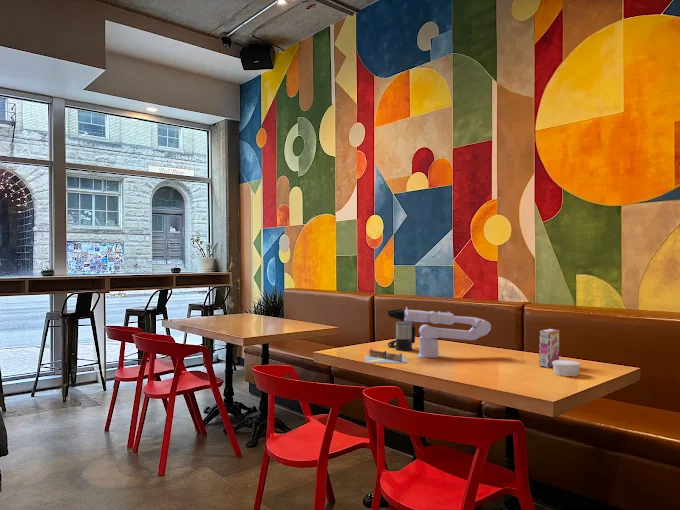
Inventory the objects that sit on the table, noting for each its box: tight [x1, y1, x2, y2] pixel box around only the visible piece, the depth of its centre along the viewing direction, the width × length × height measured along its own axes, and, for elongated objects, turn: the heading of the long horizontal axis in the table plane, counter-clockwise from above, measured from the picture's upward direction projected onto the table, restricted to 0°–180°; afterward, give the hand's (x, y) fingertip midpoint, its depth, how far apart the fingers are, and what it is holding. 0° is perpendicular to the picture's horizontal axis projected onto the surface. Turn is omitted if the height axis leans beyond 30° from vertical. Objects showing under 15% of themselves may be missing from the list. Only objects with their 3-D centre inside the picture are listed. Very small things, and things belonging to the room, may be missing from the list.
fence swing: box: [386, 352, 403, 361], centre depth 251 cm, size 9×2×3 cm, turn 45°
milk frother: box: [387, 321, 416, 352], centre depth 286 cm, size 14×16×15 cm
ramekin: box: [552, 359, 581, 377], centre depth 220 cm, size 11×11×5 cm
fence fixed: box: [368, 348, 387, 359], centre depth 259 cm, size 2×11×4 cm, turn 45°
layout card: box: [363, 354, 408, 364], centre depth 255 cm, size 20×19×1 cm
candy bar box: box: [538, 328, 560, 369], centre depth 238 cm, size 11×5×16 cm, turn 134°
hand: (388, 313), depth 262 cm, fingers open, 7 cm apart
